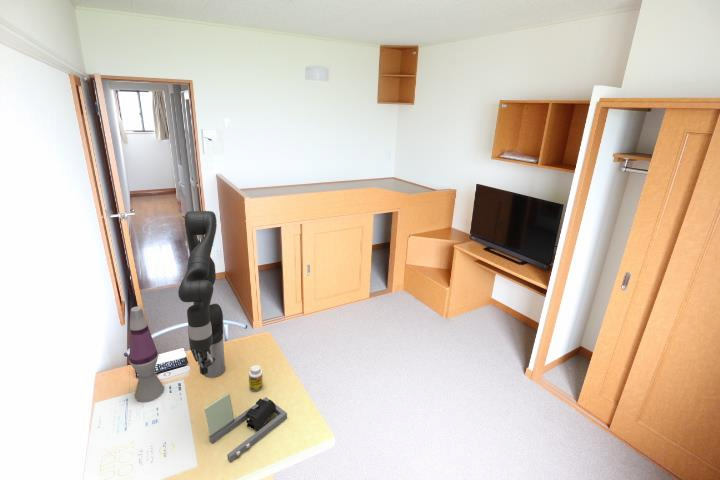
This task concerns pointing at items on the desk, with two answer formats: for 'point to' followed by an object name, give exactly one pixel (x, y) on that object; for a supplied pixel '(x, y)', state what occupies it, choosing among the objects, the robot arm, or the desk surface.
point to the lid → (219, 414)
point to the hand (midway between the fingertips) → (204, 373)
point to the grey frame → (255, 437)
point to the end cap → (260, 414)
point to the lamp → (143, 357)
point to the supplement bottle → (255, 378)
